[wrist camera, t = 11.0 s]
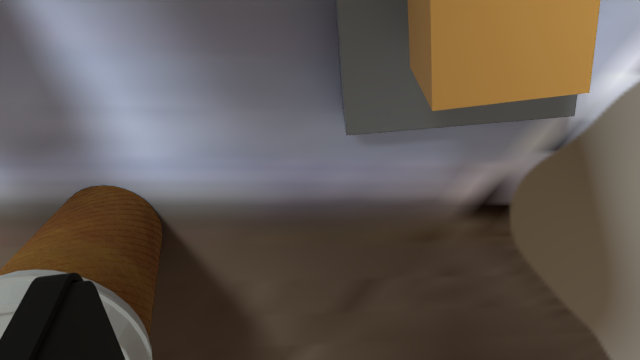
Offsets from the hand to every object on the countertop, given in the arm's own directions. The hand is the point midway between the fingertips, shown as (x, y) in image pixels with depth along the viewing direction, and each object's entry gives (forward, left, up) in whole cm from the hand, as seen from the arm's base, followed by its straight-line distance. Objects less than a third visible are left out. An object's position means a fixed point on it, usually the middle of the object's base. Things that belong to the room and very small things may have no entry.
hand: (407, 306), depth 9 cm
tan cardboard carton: (0, +6, -19) cm, 20 cm away
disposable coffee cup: (+14, -15, -25) cm, 33 cm away
